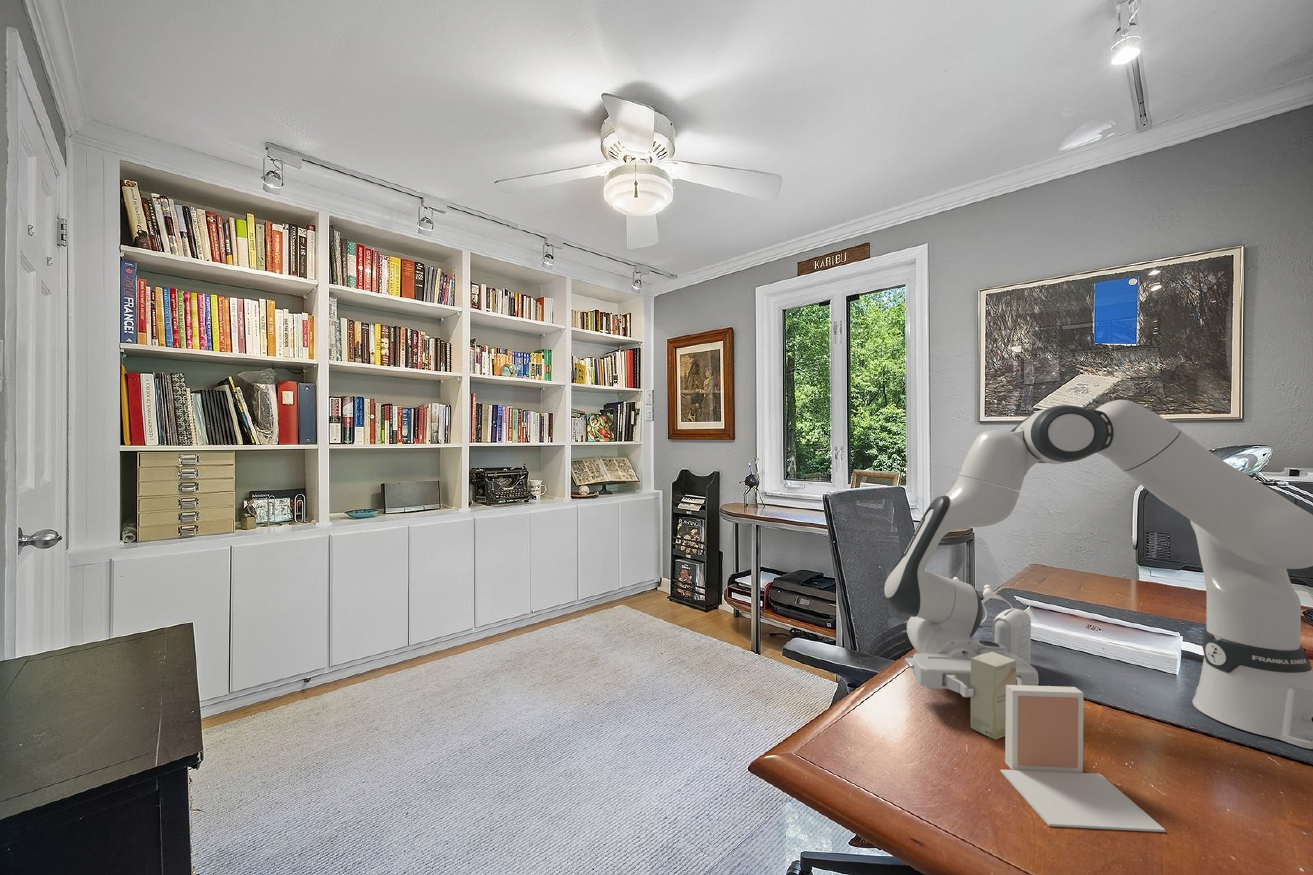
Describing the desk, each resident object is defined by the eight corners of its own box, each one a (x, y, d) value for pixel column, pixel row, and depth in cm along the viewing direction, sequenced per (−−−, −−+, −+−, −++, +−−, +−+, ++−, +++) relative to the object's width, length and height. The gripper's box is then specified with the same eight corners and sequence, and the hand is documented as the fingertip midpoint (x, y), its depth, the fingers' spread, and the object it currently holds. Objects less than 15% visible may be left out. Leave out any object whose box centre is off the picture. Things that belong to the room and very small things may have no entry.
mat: (1100, 775, 79) (1100, 773, 79) (1165, 832, 68) (1165, 829, 68) (1000, 771, 80) (1000, 769, 80) (1048, 826, 69) (1048, 823, 69)
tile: (1074, 765, 81) (1074, 687, 81) (1083, 773, 79) (1084, 693, 79) (1005, 762, 82) (1005, 684, 82) (1012, 770, 80) (1013, 691, 80)
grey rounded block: (1011, 658, 119) (1012, 602, 119) (1033, 665, 115) (1034, 608, 115) (988, 669, 113) (989, 611, 113) (1011, 677, 110) (1011, 617, 110)
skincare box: (995, 741, 87) (995, 667, 87) (968, 728, 91) (969, 657, 91) (1017, 731, 90) (1018, 659, 90) (990, 718, 94) (991, 650, 94)
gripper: (901, 641, 104) (932, 673, 91) (1010, 644, 103) (1059, 677, 89) (900, 673, 104) (931, 710, 91) (1010, 676, 103) (1059, 714, 89)
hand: (996, 694), depth 90 cm, fingers closed on skincare box, 7 cm apart
